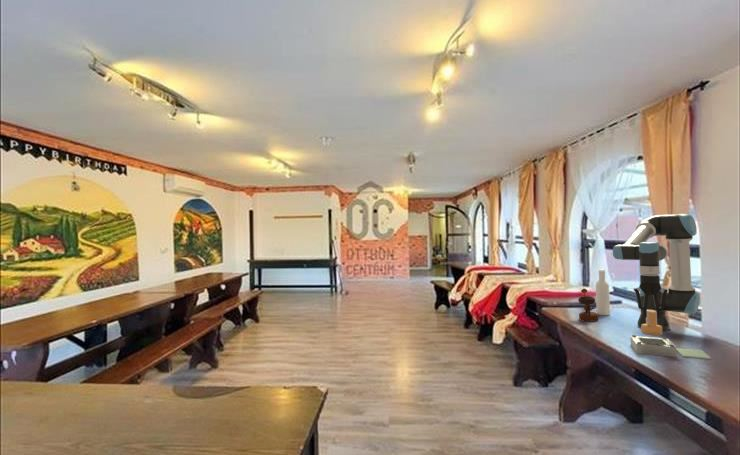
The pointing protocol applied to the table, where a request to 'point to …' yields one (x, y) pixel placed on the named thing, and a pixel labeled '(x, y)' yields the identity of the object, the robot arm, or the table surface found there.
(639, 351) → the housing
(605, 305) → the bottle
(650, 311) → the orange stamp
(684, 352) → the mat
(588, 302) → the brown wooden tiered piece
